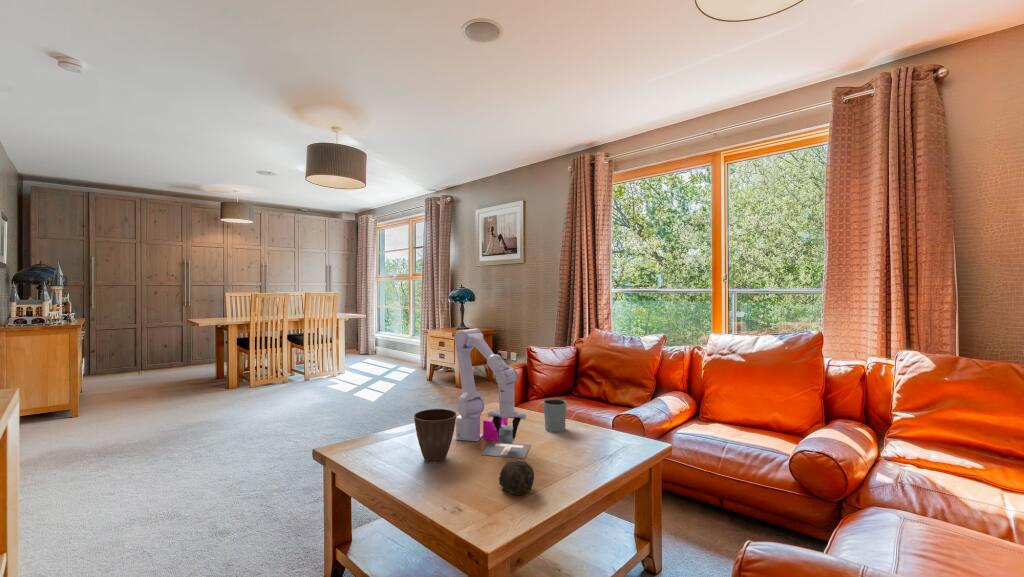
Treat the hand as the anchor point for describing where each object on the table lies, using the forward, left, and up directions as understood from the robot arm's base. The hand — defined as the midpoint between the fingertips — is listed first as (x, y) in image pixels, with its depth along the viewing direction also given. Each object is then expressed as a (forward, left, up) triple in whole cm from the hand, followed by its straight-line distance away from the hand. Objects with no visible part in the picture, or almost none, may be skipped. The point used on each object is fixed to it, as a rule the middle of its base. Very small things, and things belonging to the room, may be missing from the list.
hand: (506, 437), depth 167 cm
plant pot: (-23, -14, -5) cm, 27 cm away
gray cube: (0, 0, -2) cm, 2 cm away
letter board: (0, 0, -5) cm, 5 cm away
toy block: (-7, +17, -5) cm, 19 cm away
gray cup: (+15, +28, -5) cm, 32 cm away
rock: (+10, -32, -5) cm, 34 cm away
